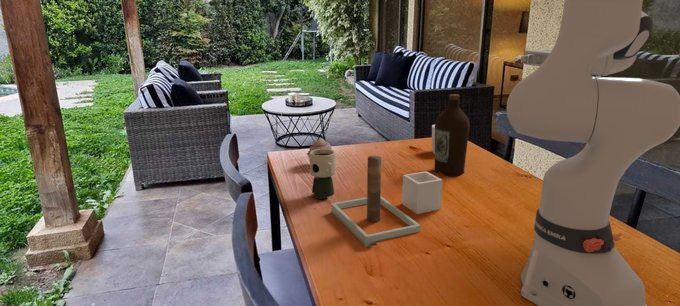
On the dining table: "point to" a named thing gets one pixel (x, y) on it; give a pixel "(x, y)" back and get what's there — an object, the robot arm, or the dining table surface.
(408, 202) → the white square sleeve
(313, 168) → the character mug
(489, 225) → the dining table surface
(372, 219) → the walnut pin
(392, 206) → the sage tray
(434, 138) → the white cup
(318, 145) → the cupcake
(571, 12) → the robot arm
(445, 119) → the olive oil
